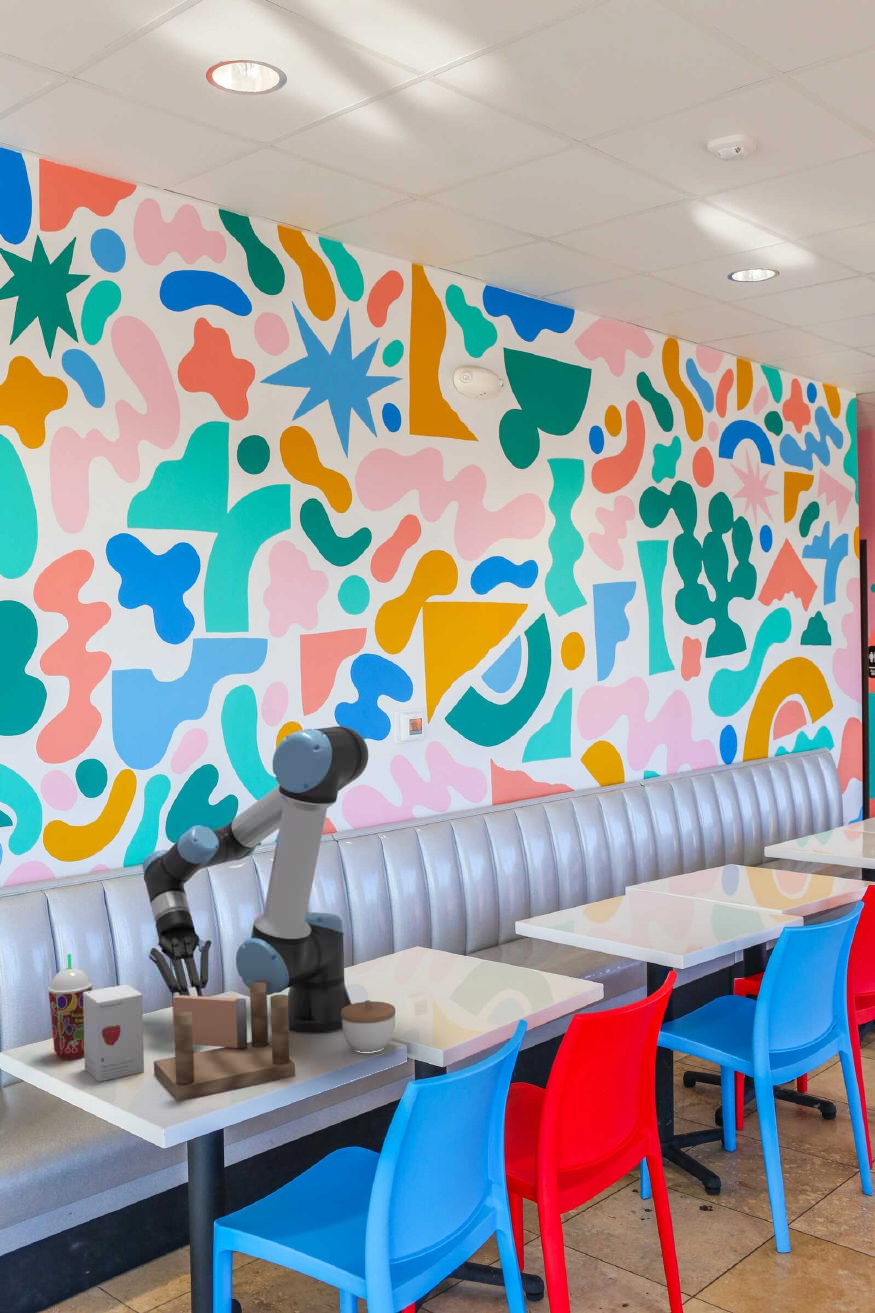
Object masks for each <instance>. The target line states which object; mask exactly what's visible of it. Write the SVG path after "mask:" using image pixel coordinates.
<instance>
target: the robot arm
mask: <svg viewBox="0 0 875 1313" xmlns="http://www.w3.org/2000/svg"><path fill="white" fill-rule="evenodd" d="M368 762H369V749H368V745H367V742H366V741H365V738H363V736H362V735H361V734H360V733H359V732H358V731H356V730H355V729H353V728H350V727H347V726H341V725H340V726H339V725H338V726H330V727H320V728H313V729H312V728H306V729H301V730H298V731H296V732H293V733H290V734H289V735H287V736H285V737H284V738H283V739H281V741H280V742H279V744H277V747H276V748H275V750H274V753H273V757H272V772H273V774H274V775H275V780H276V782H277V783H278V785H277V786H275V788H273V789H272V790H271V791H269V792H268V793H266V794H265V795H264V796H263V797H261V798H260V799H259V800H257V801H256V802H255V803H253V804H252V805H250V806H249V807H248V808H246V809H245V810H244V811H243V812H242V813H240V814H238V815H237V816H236V817H235V818H234V819H233V820H231V821H230V822H228V823H227V824H226V825H224V826H222V827H220V828H216V829H211V828H210V827H208V826H202V824H201V825H199V824H198V825H194V826H192V827H190V828H189V829H188V830H187V831H186V832H184V833H183V834H182V835H181V836H180V838H179V839H178V840H177V841H176V842H175V843H174V844H173V845H172V846H171V847H170V848H169V849H161V850H156V851H153V853H150V854H148V855H147V856H146V857H145V858H144V860H143V861H142V871H143V880H144V881H143V882H144V883H145V886H146V891H147V894H148V898H149V903H150V907H151V912H152V916H153V921H154V923H155V929H156V934H157V938H158V943H157V946H156V947H152V948H151V949H150V952H149V955H148V958H149V959H150V961H152V962H153V963H154V964H155V965H156V967H157V969H158V971H159V973H160V974H161V977H162V978H163V980H164V982H165V984H166V986H167V988H168V990H169V992H170V993H171V994H175V993H176V994H177V993H178V995H185V996H202V997H204V995H203V992H202V989H205V988H207V984H208V982H209V951H210V948H211V946H212V941H211V940H209V939H207V940H206V941H205V940H203V939H200V937H199V935H198V933H197V932H196V929H195V924H194V922H193V917H192V914H191V909H190V906H189V903H188V902H189V901H188V898H187V894H186V890H185V884H186V883H187V882H189V881H190V880H191V878H192V877H194V876H195V874H196V873H197V872H199V871H200V870H202V869H205V868H210V867H214V866H218V865H220V864H225V863H226V864H227V863H229V862H233V861H239V860H242V859H244V858H246V857H249V856H251V855H252V854H253V853H254V852H255V850H256V847H257V845H258V844H259V843H261V842H262V841H263V840H265V839H266V838H268V837H269V836H271V835H273V833H275V832H276V831H278V834H277V839H276V844H275V849H274V853H273V854H274V855H273V861H272V865H271V866H272V867H271V872H270V877H269V880H268V886H267V887H268V888H267V892H266V897H265V903H264V909H263V913H261V914H259V915H258V916H257V917H256V918H254V920H253V926H252V931H251V935H250V938H247V939H246V940H244V941H243V942H242V943H241V944H240V945H239V947H238V949H237V952H236V955H235V957H236V958H235V963H236V966H235V967H236V970H237V973H238V975H239V977H240V978H241V979H242V982H243V983H244V986H246V987H247V988H248V989H249V990H250V983H251V982H254V981H265V982H266V986H267V996H271V995H273V994H278V993H281V992H283V991H285V990H286V989H288V988H289V989H288V993H287V996H288V1022H289V1032H290V1031H291V1032H294V1033H299V1034H300V1033H301V1034H302V1033H303V1034H318V1033H319V1034H320V1033H321V1034H323V1033H329V1032H335V1031H339V1030H343V1028H342V1017H341V1010H342V1009H343V1008H344V1007H346V1006H348V1005H351V1004H353V1003H352V1001H351V998H350V995H349V992H348V990H347V987H346V984H345V954H344V953H345V952H344V951H345V950H344V949H345V948H344V947H345V946H344V935H345V932H344V928H343V926H344V925H343V920H342V918H341V917H340V916H339V915H337V914H335V913H330V912H329V913H328V912H313V911H312V912H310V911H309V912H308V908H309V904H310V900H311V895H312V888H313V883H314V877H315V872H316V867H317V864H318V863H317V862H318V857H319V852H320V847H321V842H322V836H323V831H324V827H325V826H324V825H325V821H326V815H327V812H328V808H329V807H331V806H332V805H334V804H336V802H337V800H338V794H339V791H341V790H342V789H344V788H345V787H346V786H348V785H349V784H350V783H352V782H354V781H355V780H357V779H358V778H359V777H360V776H361V775H362V774H363V773H364V772H365V770H366V768H367V765H368ZM197 947H198V951H199V953H200V958H199V960H200V961H199V962H200V963H199V965H200V966H199V967H200V972H199V973H198V970H197V965H196V961H195V958H194V957H195V956H194V955H195V954H194V953H195V951H196V949H197ZM164 955H165V956H166V957H167V958H169V959H170V961H171V965H172V967H173V970H174V973H173V971H172V970H171V968H170V967H171V966H170V965H169V964H168V962H167V960H166V958H165V956H164ZM182 960H183V961H182ZM183 962H184V964H185V967H186V970H187V972H186V973H187V976H188V980H189V984H190V987H189V985H188V982H187V977H186V973H185V969H184V965H183Z"/></svg>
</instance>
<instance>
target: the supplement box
mask: <svg viewBox="0 0 875 1313" xmlns="http://www.w3.org/2000/svg"><path fill="white" fill-rule="evenodd" d="M83 1011H84V1056H83V1057H84V1059H83V1060H84V1069H85V1071H86V1072H88V1074H90V1075H91V1076H92V1077H93V1078H94V1080H96V1081H97V1082H99V1083H100V1082H104V1081H109V1080H113V1079H118V1078H122V1077H127V1076H132V1075H137V1074H141V1073H144V1072H145V1059H144V1058H145V1057H144V1055H145V1054H144V1052H145V1051H144V1025H143V1024H144V1021H143V1020H144V1018H143V1017H144V1016H143V994H142V993H141V992H140V991H138V990H137V989H135V988H134V987H132V986H131V985H129V984H123V985H122V984H121V985H116V986H111V987H104V988H99V989H94V990H93V989H92V991H87V992H83Z"/></svg>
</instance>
